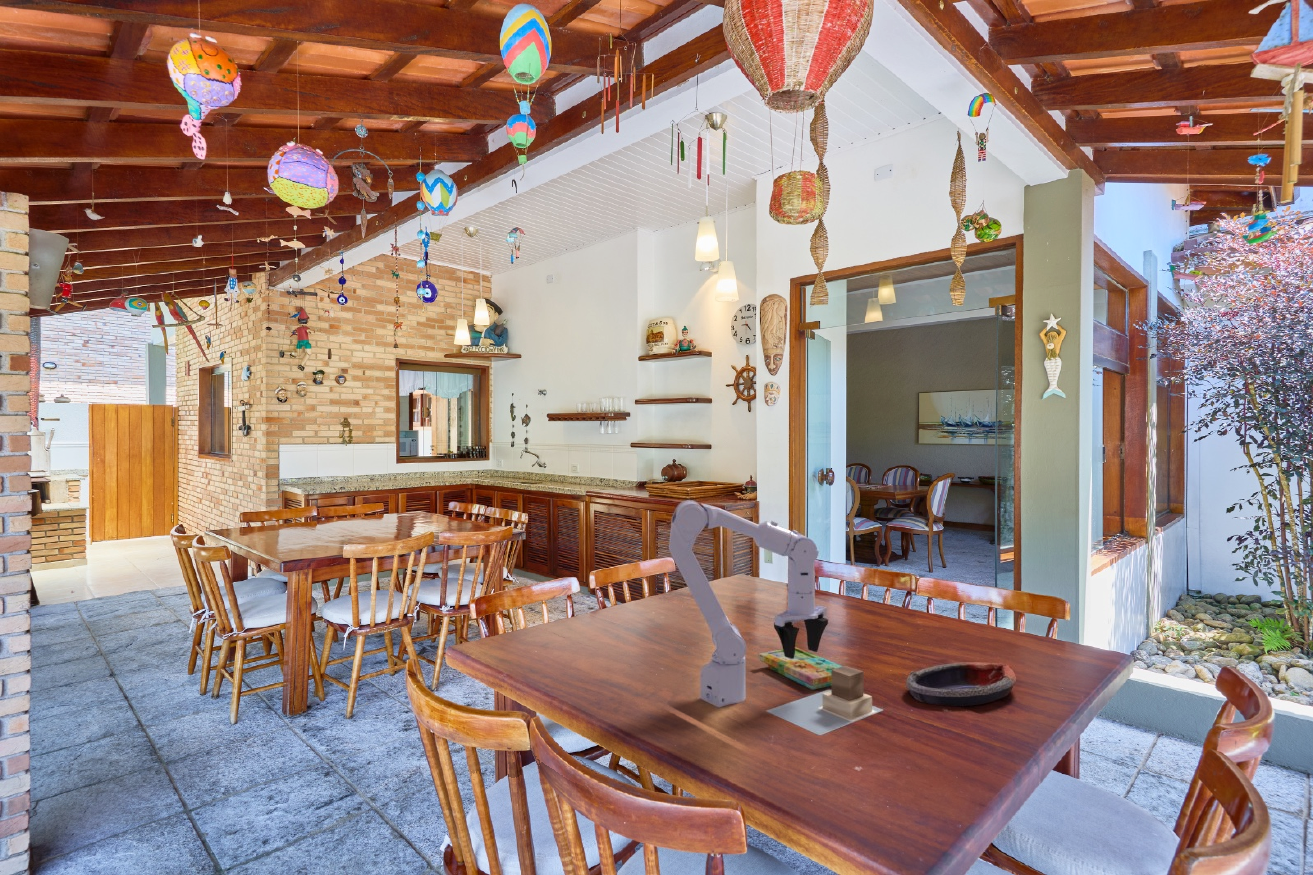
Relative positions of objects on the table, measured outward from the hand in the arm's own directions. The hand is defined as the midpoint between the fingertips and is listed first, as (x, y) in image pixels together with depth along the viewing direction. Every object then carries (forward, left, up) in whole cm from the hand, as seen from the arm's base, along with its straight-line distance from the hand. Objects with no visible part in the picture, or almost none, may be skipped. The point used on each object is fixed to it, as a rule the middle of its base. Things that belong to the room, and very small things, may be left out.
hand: (801, 654), depth 142 cm
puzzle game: (+11, +9, -10) cm, 18 cm away
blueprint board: (-2, -8, -10) cm, 13 cm away
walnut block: (+2, -11, -6) cm, 12 cm away
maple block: (+2, -11, -9) cm, 14 cm away
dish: (+32, -19, -10) cm, 39 cm away
